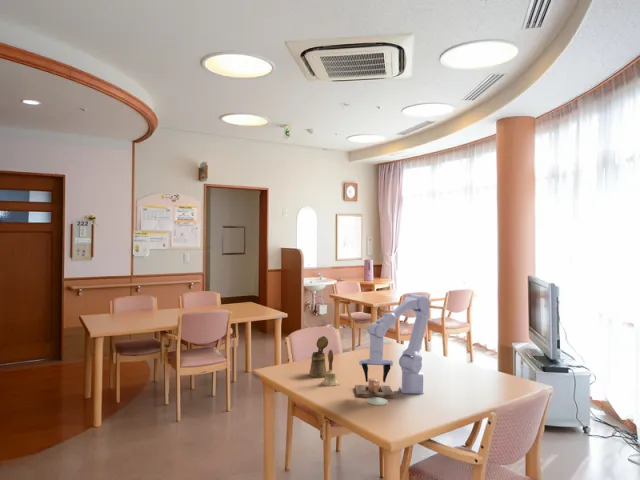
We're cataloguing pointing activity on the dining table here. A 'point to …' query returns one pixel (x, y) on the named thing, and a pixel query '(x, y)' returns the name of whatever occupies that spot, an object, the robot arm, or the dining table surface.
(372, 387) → the peach rounded piece
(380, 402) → the sage mat
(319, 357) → the wooden mug
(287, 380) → the dining table surface
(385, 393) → the walnut stand
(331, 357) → the hand bell
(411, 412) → the dining table surface
